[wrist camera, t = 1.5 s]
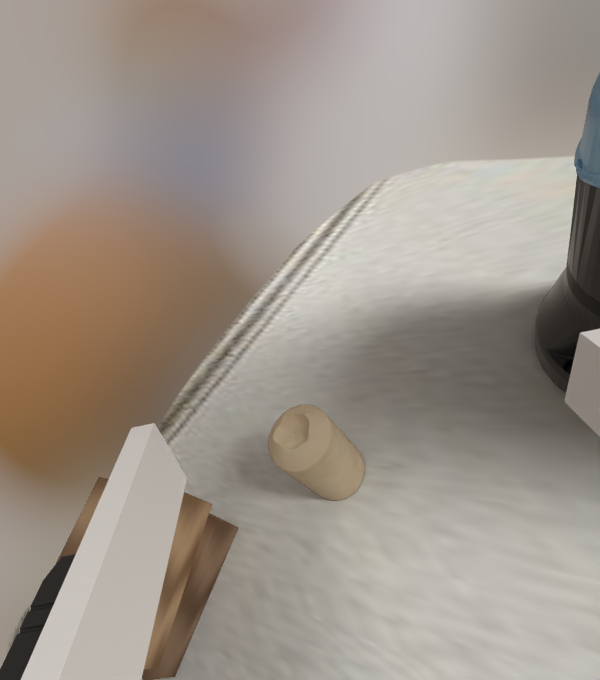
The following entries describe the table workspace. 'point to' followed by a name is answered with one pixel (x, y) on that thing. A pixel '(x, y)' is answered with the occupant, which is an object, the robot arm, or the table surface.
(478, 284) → the table surface
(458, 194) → the table surface
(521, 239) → the table surface
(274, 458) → the candle
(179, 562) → the tower top
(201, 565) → the tower base
